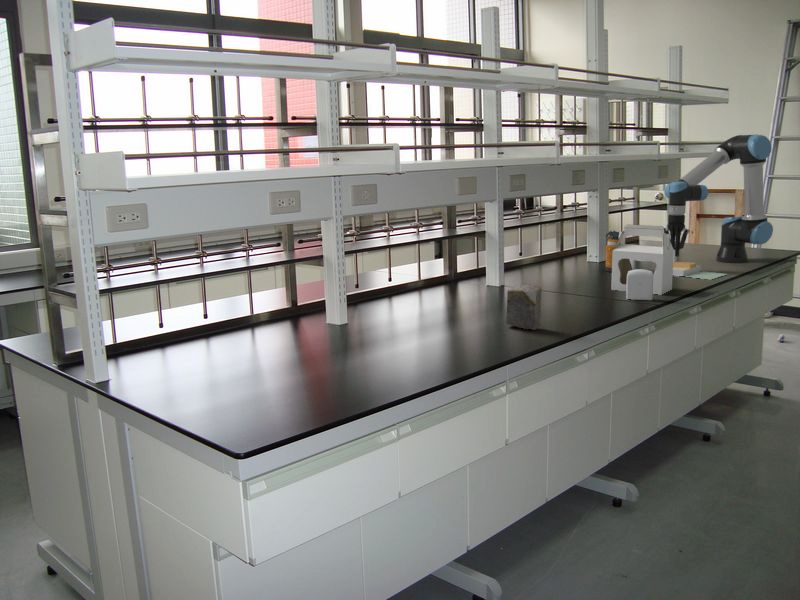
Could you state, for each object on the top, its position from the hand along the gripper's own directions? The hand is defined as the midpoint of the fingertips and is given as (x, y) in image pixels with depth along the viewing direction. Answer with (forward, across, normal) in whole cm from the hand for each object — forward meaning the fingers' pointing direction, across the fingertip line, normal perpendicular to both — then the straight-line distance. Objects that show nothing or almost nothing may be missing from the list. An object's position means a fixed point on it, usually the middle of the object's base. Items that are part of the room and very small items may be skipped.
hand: (674, 262), depth 355 cm
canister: (+5, -23, -16) cm, 29 cm away
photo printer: (+5, +20, -68) cm, 71 cm away
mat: (+4, +17, -1) cm, 17 cm away
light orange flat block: (+1, +5, 0) cm, 5 cm away
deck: (+4, +3, -1) cm, 5 cm away
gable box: (+5, +11, -50) cm, 51 cm away
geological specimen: (+5, +15, -136) cm, 137 cm away
